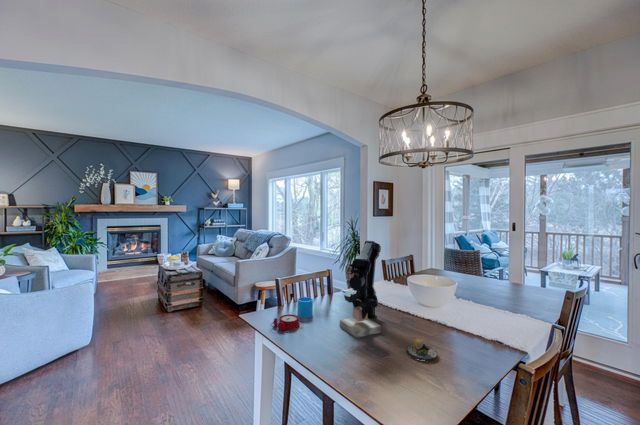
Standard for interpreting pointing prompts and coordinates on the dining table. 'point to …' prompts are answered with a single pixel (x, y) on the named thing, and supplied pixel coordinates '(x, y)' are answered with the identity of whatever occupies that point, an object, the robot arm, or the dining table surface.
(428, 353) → the plate of food
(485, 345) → the dining table surface
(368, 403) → the dining table surface
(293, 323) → the alarm clock
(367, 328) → the plinth
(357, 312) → the cube
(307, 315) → the mug
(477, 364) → the dining table surface
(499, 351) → the dining table surface
